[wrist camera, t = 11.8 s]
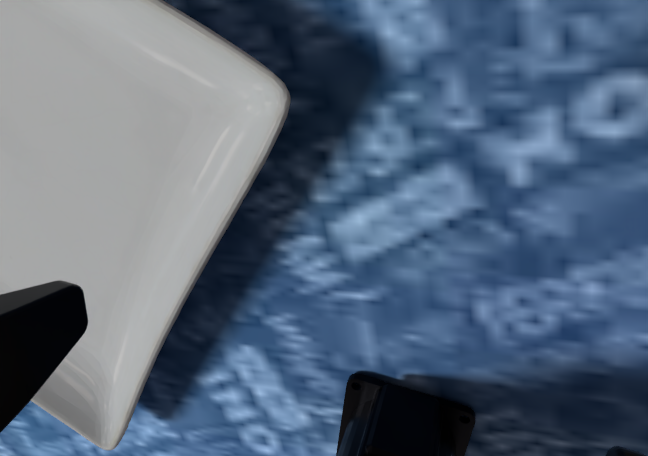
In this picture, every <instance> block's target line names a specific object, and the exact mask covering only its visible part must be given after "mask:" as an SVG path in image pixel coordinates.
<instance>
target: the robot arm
mask: <svg viewBox="0 0 648 456" xmlns="http://www.w3.org/2000/svg"><path fill="white" fill-rule="evenodd" d="M87 326H88V316H87V310H86V304H85V298H84V292H83V290H82V288H81V287H80V286H79V285H77V284H73V283H70V282H66V281H62V280H57V281H53V282H49V283H45V284H41V285H37V286H33V287H29V288H25V289H21V290H17V291H13V292H9V293H5V294H0V433H1V432H2V430H3V429H4V428H5V427H6V426H7V425H8V424H9V423H10V422H11V421H12V420H13V419H14V418H15V417H16V416H17V415H18V414H19V413H20V411H21V410H22V409H23V408H24V407H25V406H26V405H27V404H28V403H29V402H30V400H31V399H32V398H33V397H34V396H35V394H36V393H37V392H38V391H39V390H40V388H41V387H42V386H43V385H44V383H45V382H46V381H47V380H48V378H49V377H50V376H51V375H52V373H53V372H54V371H55V370H56V368H57V367H58V366H59V365H60V363H61V362H62V361H63V360H64V358H65V357H66V356H67V355H68V353H69V352H70V351H71V349H72V348H73V347H74V346H75V344H76V343H77V342H78V341H79V339H80V338H81V337H82V336H83V334H84V333H85V331H86V329H87ZM355 383H358V384H359V385H357V384H355ZM463 415H464V416H467V417H463ZM474 425H475V412H474V410H473V409H472V408H470V407H468V406H465V405H462V404H458V403H455V402H452V401H448V400H445V399H441V398H438V397H435V396H431V395H428V394H425V393H421V392H418V391H415V390H411V389H408V388H405V387H401V386H398V385H394V384H391V383H388V382H384V381H381V380H378V379H374V378H371V377H368V376H364V375H361V374H352V375H350V377H349V379H348V382H347V386H346V393H345V399H344V406H343V413H342V420H341V426H340V433H339V440H338V447H337V453H336V456H464V455H465V452H466V449H467V446H468V443H469V440H470V437H471V434H472V431H473V428H474ZM606 456H646V455H644V454H642V453H639V452H636V451H632V450H629V449H626V448H622V447H619V446H614V447H612V448H611V449H610V450H609V451H608V452H607V454H606Z"/></svg>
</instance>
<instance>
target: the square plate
mask: <svg viewBox="0 0 648 456" xmlns="http://www.w3.org/2000/svg"><path fill="white" fill-rule="evenodd" d="M290 99H291V97H290V93H289V91H288V89H287V87H286V85H285V84H284V82H283V81H282V80H281V79H280V78H278V77H277V76H276V75H275V74H274V73H273V72H272V71H270V70H269V69H268V68H267V67H266V66H264V65H263V64H262V63H260V62H259V61H257V60H256V59H255V58H253V57H252V56H250V55H249V54H247V53H246V52H244V51H243V50H241V49H240V48H238V47H237V46H235V45H234V44H232V43H231V42H229V41H228V40H226V39H225V38H223V37H222V36H220V35H219V34H217V33H215V32H214V31H212V30H211V29H209V28H208V27H206V26H204V25H203V24H201V23H199V22H198V21H196V20H194V19H193V18H191V17H189V16H188V15H186V14H185V13H183V12H181V11H180V10H178V9H176V8H175V7H173V6H171V5H170V4H168V3H166V2H165V1H163V0H0V294H5V293H9V292H13V291H17V290H21V289H25V288H29V287H33V286H37V285H41V284H45V283H49V282H53V281H57V280H62V281H66V282H70V283H73V284H77V285H79V286H80V287H81V288H82V290H83V292H84V298H85V304H86V310H87V316H88V326H87V329H86V331H85V333H84V334H83V336H82V337H81V338H80V339H79V341H78V342H77V343H76V344H75V346H74V347H73V348H72V349H71V351H70V352H69V353H68V355H67V356H66V357H65V358H64V360H63V361H62V362H61V363H60V365H59V366H58V367H57V368H56V370H55V371H54V372H53V373H52V375H51V376H50V377H49V378H48V380H47V381H46V382H45V383H44V385H43V386H42V387H41V388H40V390H39V391H38V392H37V393H36V394H35V396H34V397H33V398H32V399H31V401H32V402H34V403H35V404H37V405H38V406H40V407H41V408H42V409H44V410H45V411H47V412H48V413H50V414H51V415H53V416H54V417H56V418H57V419H59V420H60V421H62V422H63V423H65V424H66V425H68V426H69V427H70V428H72V429H73V430H75V431H76V432H78V433H79V434H80V435H82V436H83V437H85V438H86V439H87V440H89V441H91V442H92V443H94V444H95V445H97V446H98V447H100V448H102V449H105V450H112V449H114V448H115V447H116V446H117V445H118V444H119V442H120V441H121V439H122V437H123V435H124V434H125V431H126V429H127V428H128V424H129V422H130V420H131V417H132V415H133V412H134V410H135V407H136V405H137V403H138V400H139V398H140V395H141V393H142V391H143V388H144V385H145V383H146V381H147V379H148V377H149V375H150V372H151V370H152V368H153V365H154V363H155V361H156V358H157V356H158V354H159V352H160V350H161V348H162V346H163V344H164V342H165V340H166V337H167V336H168V334H169V332H170V330H171V328H172V326H173V324H174V322H175V321H176V319H177V317H178V315H179V313H180V311H181V309H182V307H183V305H184V303H185V301H186V300H187V298H188V296H189V294H190V292H191V291H192V289H193V287H194V285H195V283H196V282H197V280H198V278H199V277H200V275H201V273H202V271H203V269H204V268H205V266H206V264H207V262H208V260H209V259H210V257H211V255H212V253H213V252H214V250H215V248H216V246H217V245H218V243H219V241H220V240H221V238H222V237H223V235H224V233H225V231H226V230H227V228H228V227H229V225H230V222H231V221H232V219H233V217H234V216H235V214H236V212H237V210H238V209H239V207H240V205H241V203H242V201H243V199H244V198H245V196H246V195H247V193H248V191H249V190H250V188H251V186H252V184H253V182H254V181H255V179H256V177H257V175H258V173H259V172H260V170H261V169H262V167H263V165H264V164H265V162H266V160H267V158H268V156H269V154H270V152H271V150H272V148H273V146H274V144H275V142H276V140H277V137H278V135H279V133H280V131H281V129H282V127H283V125H284V122H285V120H286V118H287V115H288V110H289V106H290Z"/></svg>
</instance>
